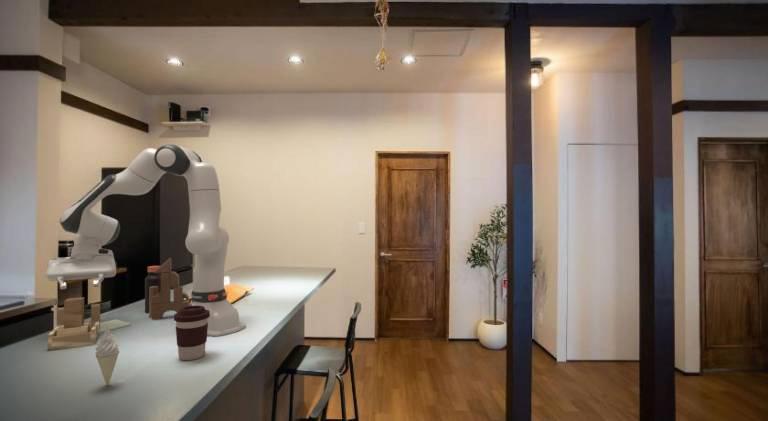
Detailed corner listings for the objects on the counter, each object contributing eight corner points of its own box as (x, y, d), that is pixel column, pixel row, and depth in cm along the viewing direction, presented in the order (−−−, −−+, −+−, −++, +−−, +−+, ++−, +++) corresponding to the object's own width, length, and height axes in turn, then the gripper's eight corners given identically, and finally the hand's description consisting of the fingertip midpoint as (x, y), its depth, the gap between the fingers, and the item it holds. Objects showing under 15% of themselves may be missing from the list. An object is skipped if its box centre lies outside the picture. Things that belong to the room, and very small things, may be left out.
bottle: (141, 312, 169) (141, 267, 169) (152, 309, 175) (153, 265, 175) (154, 313, 168) (154, 267, 168) (166, 309, 174) (166, 265, 174)
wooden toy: (190, 312, 169) (190, 256, 169) (188, 316, 163) (188, 257, 163) (150, 316, 164) (150, 257, 164) (146, 320, 157) (146, 259, 158)
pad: (131, 325, 150) (131, 323, 150) (95, 333, 140) (95, 332, 140) (116, 320, 157) (116, 319, 157) (81, 328, 146) (81, 326, 146)
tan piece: (57, 339, 133) (57, 308, 133) (100, 334, 139) (100, 304, 139) (47, 350, 123) (47, 316, 123) (94, 344, 128) (94, 311, 128)
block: (67, 325, 130) (67, 298, 130) (83, 323, 132) (84, 297, 132) (64, 328, 126) (64, 301, 126) (81, 326, 128) (81, 300, 128)
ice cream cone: (103, 381, 101) (103, 324, 101) (123, 380, 101) (123, 323, 101) (90, 390, 96) (90, 330, 96) (111, 389, 96) (112, 329, 96)
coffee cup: (173, 365, 112) (173, 313, 112) (174, 353, 120) (174, 306, 120) (210, 359, 116) (210, 309, 116) (208, 348, 125) (208, 302, 125)
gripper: (48, 252, 138) (39, 284, 130) (116, 250, 148) (113, 279, 139) (51, 263, 142) (43, 295, 133) (118, 260, 152) (114, 289, 143)
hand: (79, 287), depth 137 cm, fingers open, 8 cm apart
